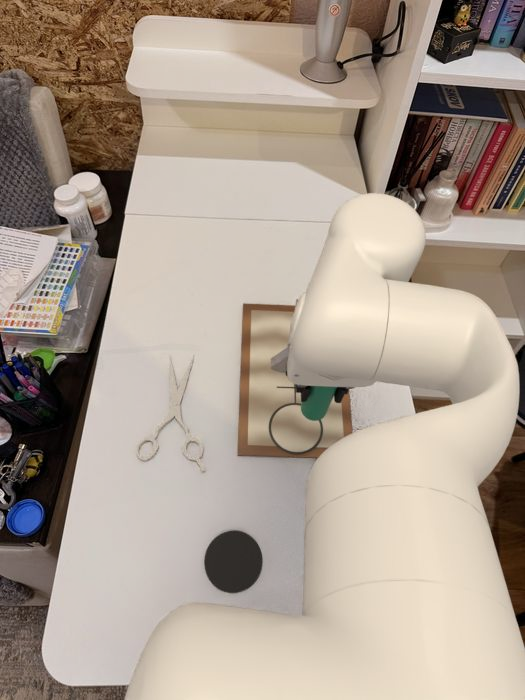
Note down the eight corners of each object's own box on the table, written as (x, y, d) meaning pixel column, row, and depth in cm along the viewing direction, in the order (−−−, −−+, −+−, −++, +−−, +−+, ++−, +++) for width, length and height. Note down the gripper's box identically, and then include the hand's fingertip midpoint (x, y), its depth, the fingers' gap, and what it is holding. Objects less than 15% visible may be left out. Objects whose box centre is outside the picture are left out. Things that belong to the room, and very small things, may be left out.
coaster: (261, 593, 69) (262, 593, 69) (202, 592, 69) (202, 592, 68) (262, 531, 73) (262, 530, 73) (206, 530, 73) (206, 529, 72)
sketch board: (353, 459, 79) (355, 457, 78) (237, 456, 78) (237, 454, 77) (341, 309, 93) (342, 306, 92) (243, 305, 92) (243, 302, 91)
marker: (326, 424, 70) (343, 386, 59) (300, 423, 70) (312, 385, 59) (325, 400, 71) (341, 358, 61) (299, 399, 71) (311, 357, 61)
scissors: (133, 469, 76) (149, 351, 85) (134, 470, 76) (150, 353, 86) (205, 471, 76) (213, 353, 86) (205, 472, 77) (213, 356, 86)
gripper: (262, 341, 47) (254, 417, 63) (440, 348, 47) (387, 421, 63) (263, 276, 50) (255, 363, 66) (428, 283, 51) (381, 368, 67)
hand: (320, 391), depth 65 cm, fingers closed on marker, 3 cm apart
